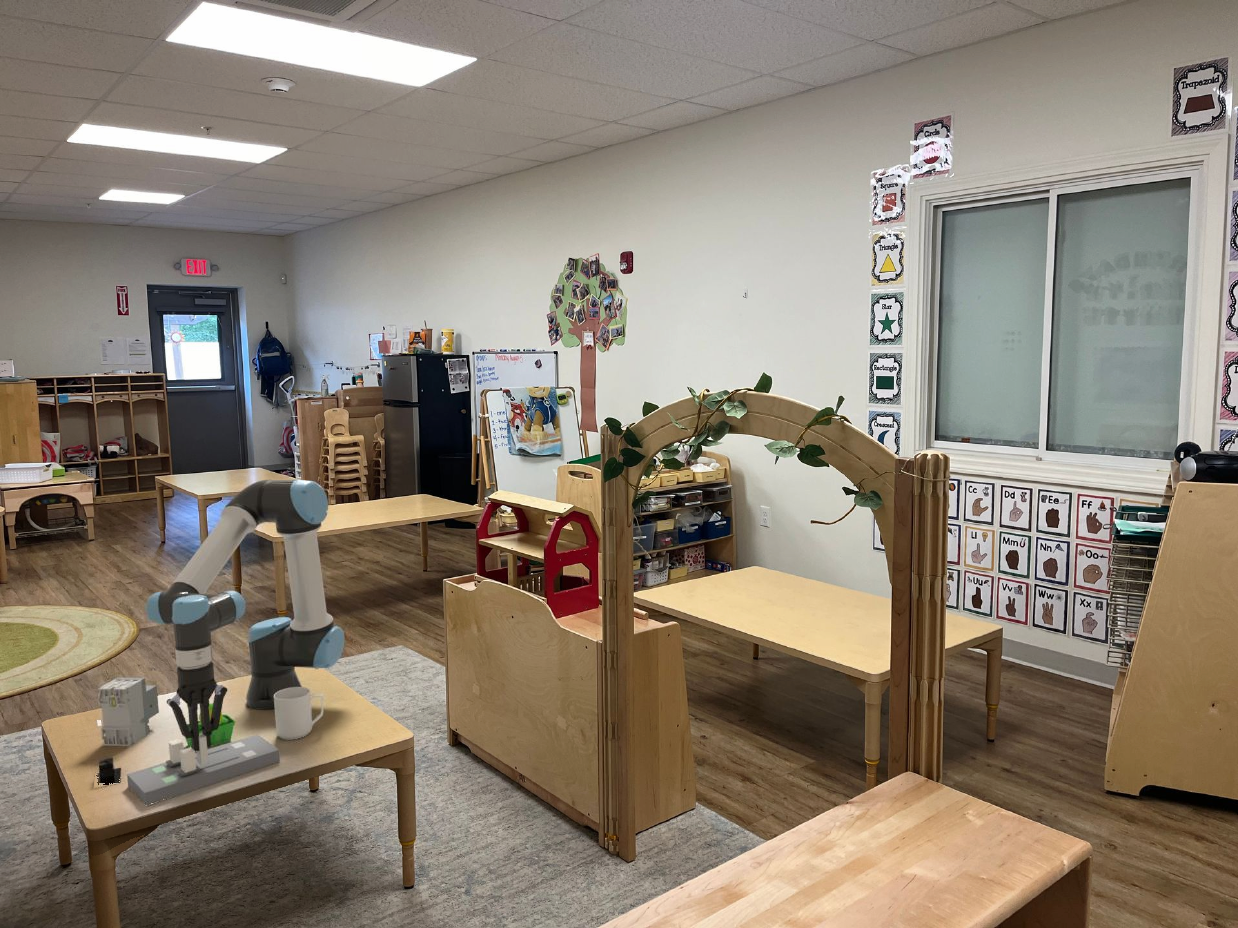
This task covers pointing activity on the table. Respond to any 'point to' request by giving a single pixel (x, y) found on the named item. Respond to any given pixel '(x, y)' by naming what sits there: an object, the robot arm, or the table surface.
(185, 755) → the block
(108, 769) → the black stepped block
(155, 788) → the gray slotted slider panel
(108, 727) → the circuit breaker
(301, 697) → the mug
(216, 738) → the fruit basket
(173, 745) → the breaker handle
